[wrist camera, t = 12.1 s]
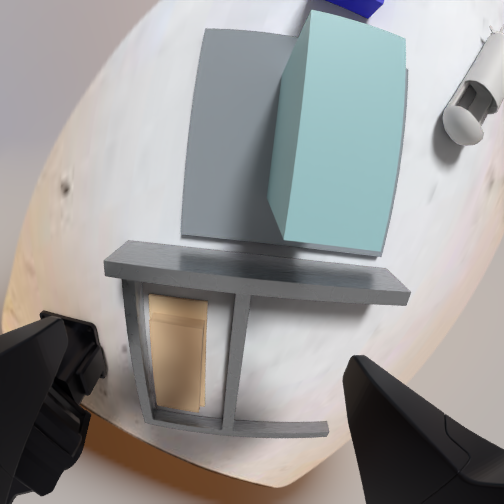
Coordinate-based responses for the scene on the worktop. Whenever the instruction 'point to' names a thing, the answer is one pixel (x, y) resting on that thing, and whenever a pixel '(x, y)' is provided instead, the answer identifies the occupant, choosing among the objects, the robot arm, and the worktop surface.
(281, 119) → the pale teal block
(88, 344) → the robot arm
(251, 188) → the rubber mat
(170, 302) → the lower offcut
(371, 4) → the blue piece
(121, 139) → the worktop surface
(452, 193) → the worktop surface
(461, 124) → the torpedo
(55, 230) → the worktop surface
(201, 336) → the upper offcut
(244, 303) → the rack
